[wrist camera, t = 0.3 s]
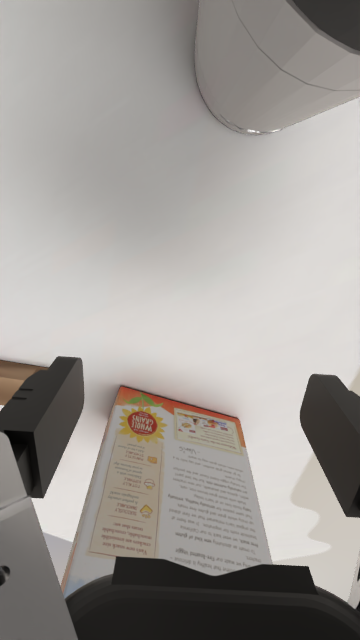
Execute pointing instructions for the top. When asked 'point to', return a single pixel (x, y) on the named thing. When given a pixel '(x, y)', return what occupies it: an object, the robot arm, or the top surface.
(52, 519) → the top surface
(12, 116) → the top surface
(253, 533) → the cracker box
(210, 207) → the top surface
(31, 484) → the robot arm
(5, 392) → the wooden picture frame
